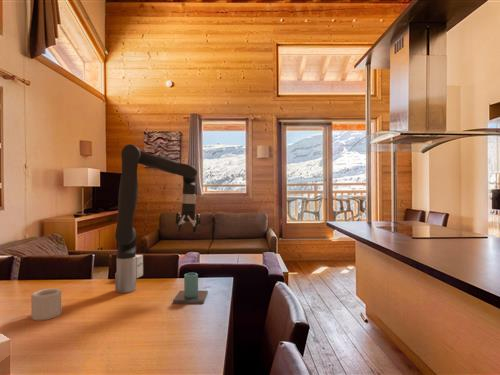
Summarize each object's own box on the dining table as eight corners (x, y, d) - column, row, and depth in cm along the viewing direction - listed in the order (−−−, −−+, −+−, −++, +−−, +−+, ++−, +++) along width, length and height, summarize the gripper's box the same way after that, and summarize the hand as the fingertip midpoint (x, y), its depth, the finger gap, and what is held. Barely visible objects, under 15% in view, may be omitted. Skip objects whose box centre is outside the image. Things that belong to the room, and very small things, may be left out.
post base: (173, 303, 152) (172, 282, 152) (179, 293, 166) (179, 273, 166) (203, 303, 152) (203, 281, 152) (207, 293, 166) (207, 273, 166)
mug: (67, 312, 143) (67, 289, 143) (44, 322, 132) (44, 297, 132) (44, 309, 147) (43, 286, 147) (20, 318, 137) (19, 293, 137)
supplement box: (137, 278, 194) (136, 257, 194) (125, 278, 196) (125, 256, 196) (143, 275, 201) (143, 254, 201) (132, 274, 203) (132, 254, 203)
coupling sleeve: (182, 296, 158) (182, 275, 158) (189, 292, 163) (189, 272, 163) (193, 297, 155) (193, 276, 155) (200, 294, 161) (199, 273, 161)
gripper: (173, 202, 180) (172, 232, 179) (196, 203, 174) (195, 234, 174) (181, 202, 186) (180, 231, 186) (203, 203, 181) (202, 233, 181)
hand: (187, 232), depth 180 cm, fingers open, 8 cm apart
